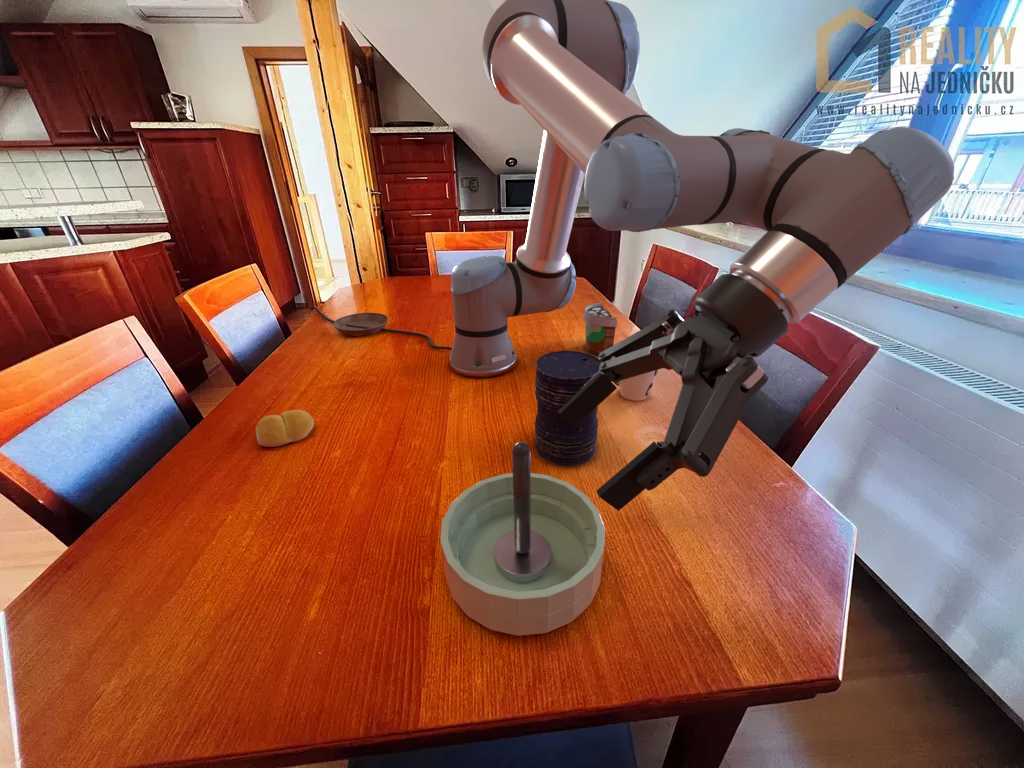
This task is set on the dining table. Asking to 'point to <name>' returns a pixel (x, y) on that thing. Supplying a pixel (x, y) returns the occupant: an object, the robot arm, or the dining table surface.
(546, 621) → the bowl
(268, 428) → the bread roll
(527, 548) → the peg on round base
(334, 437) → the dining table surface
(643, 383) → the cup
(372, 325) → the saucer
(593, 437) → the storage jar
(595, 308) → the food container
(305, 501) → the dining table surface
